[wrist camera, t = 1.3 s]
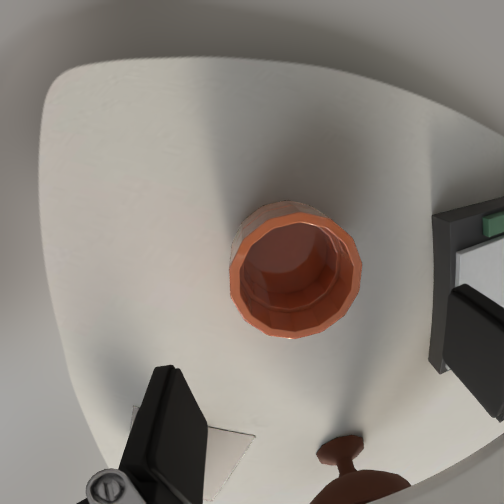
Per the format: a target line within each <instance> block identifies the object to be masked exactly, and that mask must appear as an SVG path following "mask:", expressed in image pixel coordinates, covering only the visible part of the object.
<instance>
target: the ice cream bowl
mask: <svg viewBox="0 0 504 504" xmlns="http://www.w3.org/2000/svg"><path fill="white" fill-rule="evenodd" d="M363 449H364V444H363V439H362V437H358V436H354V435H349V436H344V437H338V438H335V439H333V440H331V441H330V442H328V443H326V444H324V445H322V447H321V448H320V449H319V451H318V452H317V453H316V455H317V457H318V459H319V461H320V462H321V463H322V464H327V465H337V467H338V470H339V473H340V474H339V478H337V479H335V480H333V481H332V482H330V483H329V484H328V485H326V487H325V488H324V489H323V490H322V491H321V492H320V493H319V494H318V495H317V496H316V497H315V498H314V499H313V500H312V502H311V503H310V504H366V503H369V502H372V501H375V500H378V499H381V498H383V497H386V496H389V495H391V494H394V493H396V492H399V491H401V490H404V489H406V488H408V487H410V486H411V485H410V483H409V482H408V481H407V480H406V479H404V478H403V477H401V476H400V475H398V474H393V473H389V472H385V471H376V470H360V471H357V470H356V469H355V468H354V465H353V462H352V460H353V459H354V458H355V457H357V456H358V455H359V453H360V452H361V451H362V450H363Z"/></svg>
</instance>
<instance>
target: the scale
mask: <svg viewBox="0 0 504 504" xmlns="http://www.w3.org/2000/svg"><path fill="white" fill-rule="evenodd" d="M432 227H433V249H434V293H433V315H432V329H431V340H430V349H429V358H428V361H429V362H430V363H431V364H432V366H433V367H434V368H435V369H436V371H437V372H438V373H439V374H442V373H444V372H446V371H449V370H451V369H450V368H449V367H448V366H447V365H446V363H445V362H444V360H443V356H442V352H443V345H444V336H445V327H446V316H447V302H448V295H449V294H450V292H451V290H452V289H453V288H455V287H457V286H459V285H462V284H465V283H466V284H468V285H470V286H471V287H473V288H474V289H476V290H477V291H479V292H480V293H482V294H484V295H485V296H487V297H488V298H490V299H491V300H493V301H494V302H496V303H497V304H499V305H500V306H502V307H503V308H504V197H501V198H497V199H493V200H489V201H485V202H481V203H478V204H474V205H470V206H466V207H462V208H458V209H455V210H451V211H447V212H443V213H439V214H435V215H432Z"/></svg>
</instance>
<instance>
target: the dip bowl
mask: <svg viewBox="0 0 504 504" xmlns="http://www.w3.org/2000/svg"><path fill="white" fill-rule="evenodd" d="M361 271H362V262H361V259H360V256H359V253H358V251H357V248H356V245H355V243H354V240H353V238H352V237H351V236H350V235H349V234H348V233H347V232H346V231H344V230H343V229H342V228H341V227H340V226H339V225H338V224H336V223H335V222H334V221H333V220H332V219H330V218H329V217H327V216H326V215H324V214H323V213H321V212H320V211H318V210H317V209H315V208H314V207H312V206H310V205H307V204H302V203H298V202H294V201H289V200H287V201H286V200H284V201H280V202H276V203H272V204H267V205H263V206H262V207H260V208H259V209H257V210H256V211H255V212H254V213H252V214H251V215H250V216H249V217H247V218H246V219H245V220H244V221H243V222H242V223H241V225H240V227H239V229H238V232H237V234H236V236H235V238H234V240H233V242H232V247H231V257H230V267H229V274H230V296H231V299H232V300H233V302H234V304H235V305H236V307H237V309H238V310H239V312H240V314H241V315H242V317H243V319H244V320H245V321H246V322H248V323H249V324H251V325H252V326H254V327H255V328H257V329H259V330H260V331H262V332H263V333H265V334H267V335H269V336H276V337H283V338H290V339H297V338H301V337H305V336H309V335H313V334H316V333H320V332H323V331H324V330H326V329H327V328H328V327H330V326H331V325H332V324H334V323H335V322H336V321H338V320H339V319H340V318H342V317H343V316H344V315H345V314H346V312H347V311H348V309H349V307H350V306H351V304H352V303H353V301H354V299H355V298H356V296H357V294H358V292H359V288H360V280H361Z"/></svg>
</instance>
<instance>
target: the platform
mask: <svg viewBox="0 0 504 504" xmlns="http://www.w3.org/2000/svg"><path fill="white" fill-rule="evenodd" d="M138 410H139V407H136V406H133V412H132V421H131V429H132V426H133V423H134V420H135V417H136V414H137V412H138ZM130 432H131V430H130ZM254 438H255V436H251V435H245V434H240V433H234V432H229V431H224V430H219V429H215V428H210V427H208V439H207V451H206V463H205V476H204V489H203V500H206V501H213V499H214V498H215V497H216V495H217V494H218V492H219V491H220V490H221V488H222V487H223V485H224V484H225V482H226V481H227V480H228V478H229V477H230V475H231V474H232V472H233V471H234V469H235V468H236V466H237V465H238V463H239V462H240V460H241V459H242V457H243V455H244V454H245V452H246V451H247V449H248V448H249V446H250V444H251V443H252V441H253V440H254Z"/></svg>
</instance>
